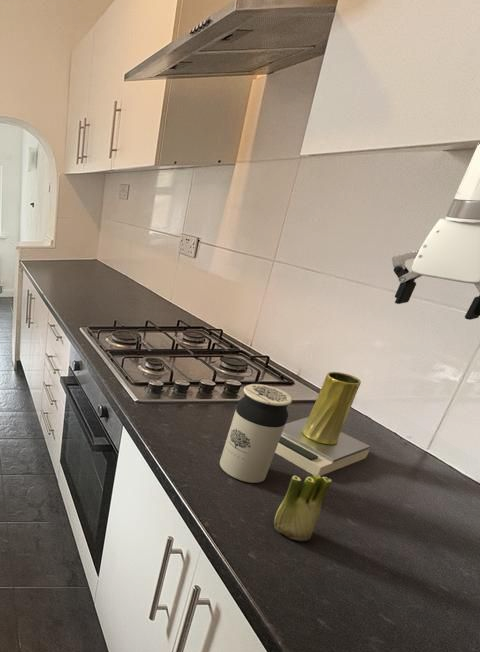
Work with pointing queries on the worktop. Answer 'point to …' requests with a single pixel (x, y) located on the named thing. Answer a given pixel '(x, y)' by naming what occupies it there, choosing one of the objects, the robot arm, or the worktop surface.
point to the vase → (331, 408)
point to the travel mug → (255, 432)
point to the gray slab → (327, 451)
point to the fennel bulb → (301, 507)
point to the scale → (312, 458)
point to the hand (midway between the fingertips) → (434, 310)
